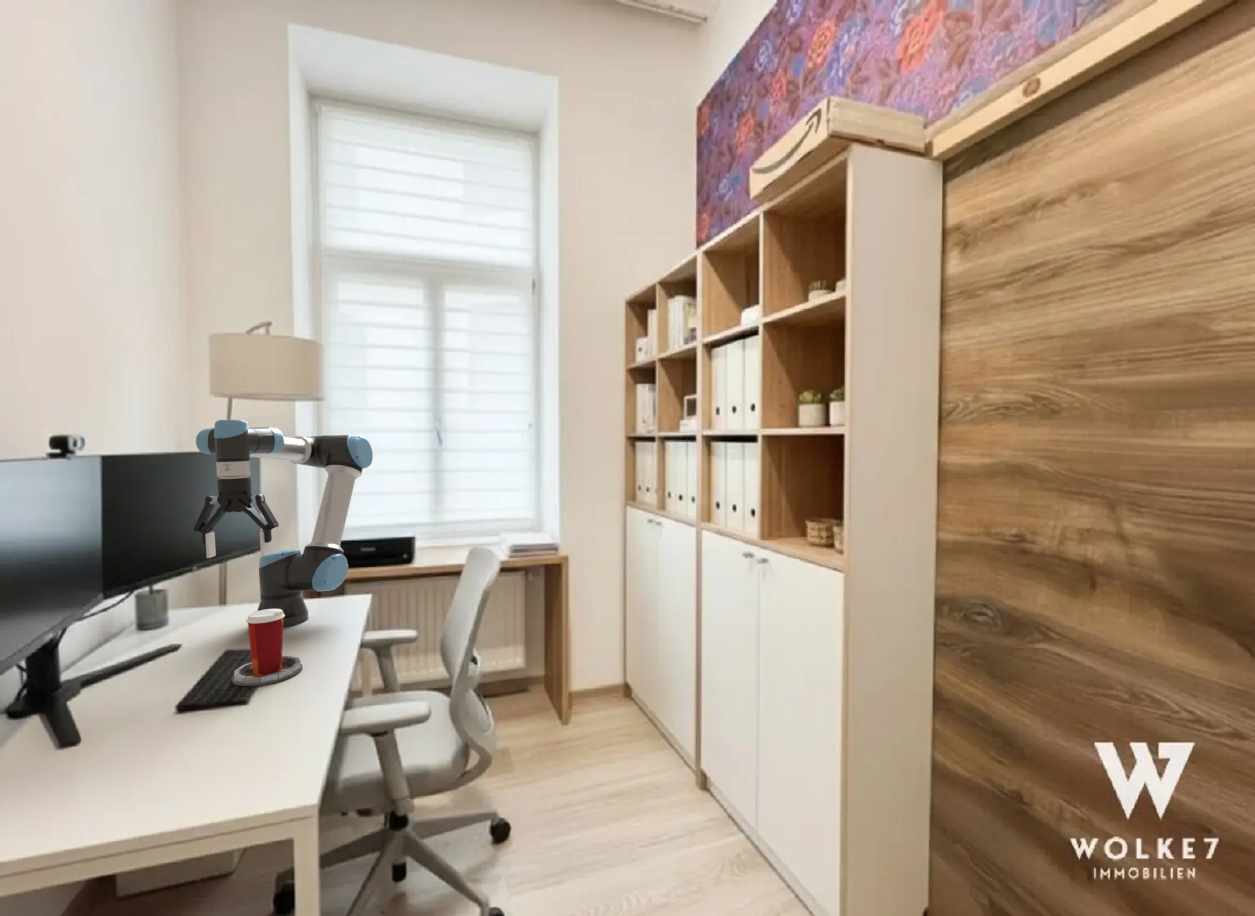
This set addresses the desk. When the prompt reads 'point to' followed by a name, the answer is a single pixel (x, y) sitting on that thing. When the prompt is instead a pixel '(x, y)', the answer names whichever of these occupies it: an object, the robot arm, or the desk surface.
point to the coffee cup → (266, 640)
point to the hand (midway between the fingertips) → (238, 555)
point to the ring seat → (288, 670)
